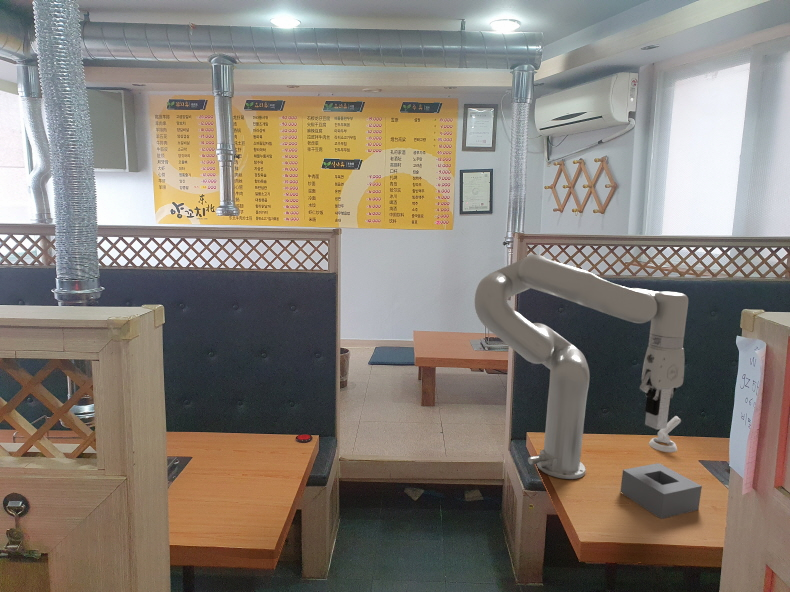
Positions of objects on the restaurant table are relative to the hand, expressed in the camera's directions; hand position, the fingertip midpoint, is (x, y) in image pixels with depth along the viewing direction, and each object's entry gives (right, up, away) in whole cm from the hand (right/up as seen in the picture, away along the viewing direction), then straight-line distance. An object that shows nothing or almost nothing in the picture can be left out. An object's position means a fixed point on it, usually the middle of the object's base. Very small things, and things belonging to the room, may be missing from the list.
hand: (657, 411), depth 132 cm
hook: (+15, -16, +26) cm, 34 cm away
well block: (-3, -20, -6) cm, 21 cm away
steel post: (0, -4, +1) cm, 4 cm away
